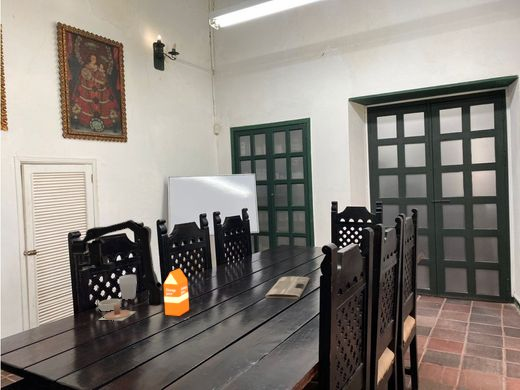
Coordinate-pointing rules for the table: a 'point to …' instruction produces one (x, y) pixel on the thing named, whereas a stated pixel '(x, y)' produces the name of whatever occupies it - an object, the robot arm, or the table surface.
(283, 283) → the newspaper
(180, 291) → the orange juice
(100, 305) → the bowl
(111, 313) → the lid
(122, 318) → the mat
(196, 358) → the table surface
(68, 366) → the table surface
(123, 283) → the cup
